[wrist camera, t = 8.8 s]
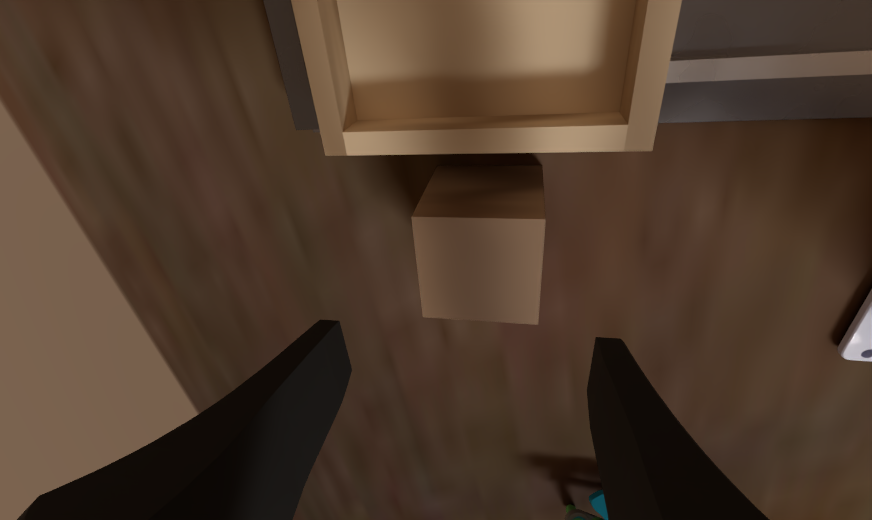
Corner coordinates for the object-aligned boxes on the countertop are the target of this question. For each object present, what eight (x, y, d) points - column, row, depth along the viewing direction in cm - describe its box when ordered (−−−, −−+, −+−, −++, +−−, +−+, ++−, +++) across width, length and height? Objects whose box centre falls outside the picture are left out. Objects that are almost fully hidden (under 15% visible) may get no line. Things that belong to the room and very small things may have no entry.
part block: (542, 164, 18) (545, 219, 14) (536, 255, 20) (538, 324, 16) (437, 165, 19) (411, 216, 15) (443, 251, 21) (423, 317, 17)
